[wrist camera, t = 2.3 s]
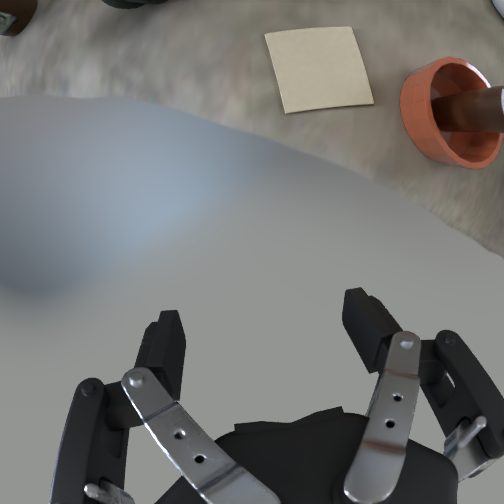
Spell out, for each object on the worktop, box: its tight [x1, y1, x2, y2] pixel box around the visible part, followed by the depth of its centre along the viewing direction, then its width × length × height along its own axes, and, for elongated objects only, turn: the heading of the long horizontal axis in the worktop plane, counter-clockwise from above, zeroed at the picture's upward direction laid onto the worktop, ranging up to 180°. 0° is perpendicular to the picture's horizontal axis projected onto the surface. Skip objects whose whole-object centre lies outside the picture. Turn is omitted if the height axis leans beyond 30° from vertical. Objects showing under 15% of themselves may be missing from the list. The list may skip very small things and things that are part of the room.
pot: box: [400, 57, 503, 169], centre depth 23 cm, size 14×14×6 cm
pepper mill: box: [431, 86, 504, 133], centre depth 19 cm, size 5×5×14 cm
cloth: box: [265, 27, 374, 114], centre depth 26 cm, size 11×11×1 cm
